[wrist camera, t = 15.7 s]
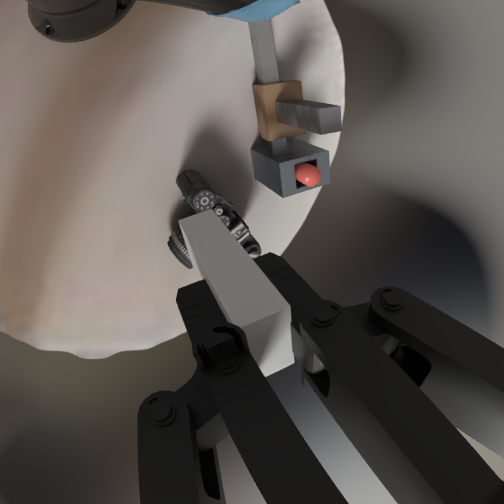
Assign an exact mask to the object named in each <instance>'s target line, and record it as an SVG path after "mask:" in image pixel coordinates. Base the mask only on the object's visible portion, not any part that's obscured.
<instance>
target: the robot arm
mask: <svg viewBox="0 0 504 504" xmlns="http://www.w3.org/2000/svg"><path fill="white" fill-rule="evenodd" d="M27 1H28V14H29V18H30V21H31V23H32V25H33V26H34V28H35V29H36V30H37V31H38V32H39V33H41V34H42V35H43V36H45V37H46V38H48V39H51V40H53V41H57V42H65V43H71V42H79V41H84V40H87V39H90V38H93V37H95V36H98V35H100V34H102V33H104V32H105V31H107V30H109V29H110V28H112V27H113V26H114V25H116V24H117V23H118V22H119V21H120V20H121V19H122V18H123V17H124V16H125V15H126V14H127V13H128V12H129V10H130V9H131V7H132V6H133V4H134V2H135V0H27ZM140 1H148V2H156V3H162V4H169V5H175V6H180V7H185V8H190V9H195V10H200V11H204V12H206V13H207V14H209V15H212V16H215V17H229V18H233V19H237V20H241V21H245V22H253V21H264V20H267V19H270V18H272V17H275V16H277V15H278V14H280V13H282V12H284V11H285V10H287V9H288V8H290V7H291V6H292V5H293V4H295V3H296V2H297V1H298V0H140ZM178 221H179V224H180V227H181V231H182V234H183V237H184V240H185V244H186V247H187V250H188V253H189V256H190V259H191V262H192V265H193V268H194V271H195V273H196V275H197V278H198V280H199V281H198V282H195V283H192V284H190V285H187V286H185V287H182V288H179V289H178V292H177V297H176V302H177V305H178V308H179V311H180V313H181V316H182V319H183V321H184V324H185V327H186V329H187V332H188V334H189V337H190V340H191V342H192V350H193V355H194V357H195V359H196V361H197V368H196V371H195V373H194V375H193V376H192V378H191V379H190V380H189V381H188V382H187V383H186V384H184V385H183V386H182V387H180V388H179V389H178V390H177V391H175V392H172V391H159V392H156V393H152V394H151V395H150V396H148V397H147V398H146V399H145V400H144V401H143V403H142V404H141V406H140V408H139V412H138V470H139V489H140V503H141V504H226V501H225V496H224V490H223V485H222V479H221V473H220V468H219V462H218V455H217V450H216V445H217V444H218V443H219V442H220V441H221V440H223V439H224V438H225V437H226V436H227V435H229V434H230V435H231V437H232V439H233V441H234V443H235V445H236V447H237V449H238V451H239V453H240V455H241V457H242V459H243V461H244V463H245V464H246V466H247V468H248V470H249V472H250V474H251V476H252V478H253V479H254V481H255V483H256V485H257V487H258V489H259V490H260V492H261V494H262V495H263V497H264V499H265V501H266V503H267V504H348V502H347V501H346V499H345V498H344V497H343V495H342V494H341V493H340V491H339V490H338V488H337V487H336V485H335V484H334V483H333V481H332V480H331V478H330V477H329V475H328V474H327V472H326V471H325V469H324V468H323V467H322V465H321V464H320V462H319V461H318V459H317V458H316V456H315V455H314V453H313V452H312V450H311V449H310V447H309V446H308V444H307V443H306V441H305V440H304V438H303V437H302V435H301V434H300V432H299V431H298V429H297V427H296V426H295V424H294V423H293V421H292V420H291V418H290V417H289V415H288V413H287V412H286V410H285V409H284V407H283V405H282V404H281V402H280V401H279V399H278V397H277V396H276V394H275V393H274V391H273V389H272V388H271V386H270V384H269V383H268V381H267V379H266V378H265V377H266V376H268V375H270V374H272V373H274V372H277V371H279V370H281V369H283V368H285V367H287V366H289V365H291V364H293V363H294V355H295V356H296V358H297V359H298V361H299V362H300V363H301V382H302V384H303V387H305V386H306V385H307V382H308V383H309V384H310V386H311V387H312V389H313V390H314V392H315V393H316V394H317V396H318V397H319V398H320V400H321V401H322V403H323V404H324V405H325V407H326V408H327V410H328V411H329V412H330V414H331V415H332V416H333V418H334V419H335V421H336V422H337V423H338V425H339V426H340V427H341V429H342V430H343V432H344V433H345V434H346V436H347V437H348V438H349V440H350V441H351V442H352V444H353V445H354V447H355V448H356V449H357V450H358V452H359V453H360V455H361V456H362V457H363V459H364V460H365V461H366V463H367V464H368V465H369V467H370V468H371V469H372V471H373V472H374V473H375V475H376V476H377V477H378V478H379V480H380V481H381V482H382V484H383V485H384V486H385V488H386V489H387V490H388V491H389V493H390V494H391V495H392V497H393V498H394V499H395V500H396V502H397V503H398V504H504V481H502V480H501V479H500V478H499V477H498V476H497V475H496V474H495V472H494V471H493V470H492V469H491V468H490V467H489V465H487V463H486V462H485V461H484V460H483V458H482V457H481V456H480V455H479V454H478V453H477V452H476V450H475V449H474V448H473V447H472V446H471V445H470V444H469V443H468V441H467V440H466V439H465V438H464V437H463V436H462V434H460V432H459V431H458V430H457V429H456V428H458V429H460V430H461V431H463V432H464V433H466V434H467V435H469V436H470V437H472V438H473V439H475V440H476V441H478V442H479V443H481V444H482V445H484V446H486V447H487V448H489V449H490V450H492V451H494V452H495V453H496V454H498V455H500V456H501V457H503V458H504V348H502V347H500V346H499V345H497V344H496V343H494V342H492V341H491V340H489V339H487V338H486V337H484V336H482V335H481V334H479V333H477V332H476V331H474V330H472V329H471V328H469V327H467V326H465V325H464V324H462V323H461V322H459V321H457V320H455V319H454V318H452V317H450V316H449V315H447V314H445V313H443V312H442V311H440V310H438V309H436V308H435V307H433V306H431V305H429V304H428V303H426V302H424V301H422V300H420V299H419V298H417V297H415V296H413V295H412V294H410V293H408V292H406V291H404V290H402V289H400V288H397V287H390V286H387V287H382V288H379V289H378V290H376V291H375V292H374V293H373V294H372V296H371V299H370V302H368V303H364V304H359V305H355V306H348V307H342V306H340V305H339V304H337V303H336V302H332V301H329V300H323V299H322V298H320V296H319V295H318V294H317V293H316V292H315V291H314V290H313V289H312V288H311V287H310V286H309V285H308V284H307V283H306V282H305V281H304V280H303V279H302V277H301V276H300V275H299V274H297V272H296V271H295V270H294V269H293V268H292V267H290V265H289V264H288V263H287V262H286V261H285V260H284V259H283V258H282V257H280V256H278V255H276V254H273V253H271V252H270V253H267V254H264V255H262V256H259V257H257V258H254V259H252V258H251V257H250V256H249V254H248V253H247V252H246V251H245V249H244V248H243V247H242V246H241V245H240V243H239V242H238V241H237V240H236V238H235V237H234V236H233V235H232V233H231V232H230V231H229V230H228V228H227V227H226V226H225V225H224V223H223V222H222V221H221V220H220V219H219V217H218V216H217V215H216V214H215V212H214V211H213V210H212V209H210V210H207V211H204V212H201V213H198V214H195V215H192V216H189V217H187V218H184V219H181V220H178ZM454 426H455V427H456V428H455V427H454Z"/></svg>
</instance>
